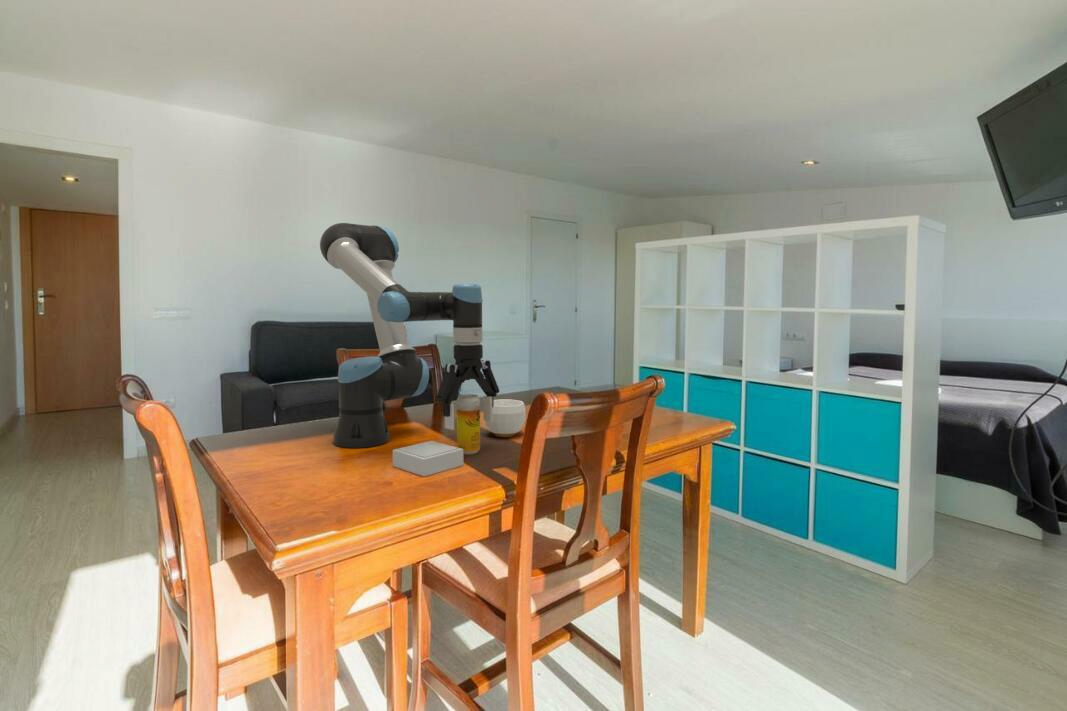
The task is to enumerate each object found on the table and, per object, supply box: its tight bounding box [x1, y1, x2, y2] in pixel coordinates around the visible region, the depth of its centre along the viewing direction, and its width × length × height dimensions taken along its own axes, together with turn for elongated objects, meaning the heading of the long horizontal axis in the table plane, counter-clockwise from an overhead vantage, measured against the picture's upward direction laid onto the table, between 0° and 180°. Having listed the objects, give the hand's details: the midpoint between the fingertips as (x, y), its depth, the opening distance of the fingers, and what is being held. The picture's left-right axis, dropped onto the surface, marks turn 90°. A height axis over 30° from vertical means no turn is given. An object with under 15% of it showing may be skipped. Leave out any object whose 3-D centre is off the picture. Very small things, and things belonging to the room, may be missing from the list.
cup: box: [484, 398, 527, 438], centre depth 172 cm, size 12×12×10 cm
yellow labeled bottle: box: [456, 393, 481, 455], centre depth 153 cm, size 6×6×15 cm
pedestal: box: [392, 440, 464, 478], centre depth 141 cm, size 12×12×4 cm
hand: (469, 424), depth 153 cm, fingers open, 13 cm apart
